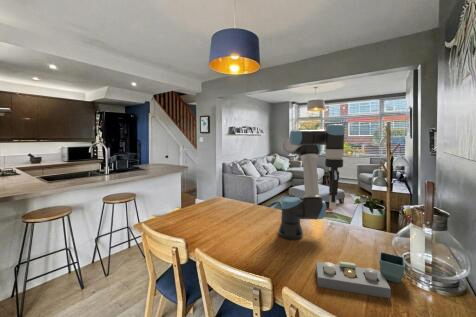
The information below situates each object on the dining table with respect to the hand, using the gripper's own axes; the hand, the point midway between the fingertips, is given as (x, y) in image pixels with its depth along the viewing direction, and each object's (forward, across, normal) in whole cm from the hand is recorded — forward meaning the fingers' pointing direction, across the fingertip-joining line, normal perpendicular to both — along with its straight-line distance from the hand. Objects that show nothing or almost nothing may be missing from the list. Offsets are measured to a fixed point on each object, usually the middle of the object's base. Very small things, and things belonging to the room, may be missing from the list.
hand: (332, 208), depth 101 cm
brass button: (+28, -11, -6) cm, 31 cm away
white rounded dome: (+27, -11, -14) cm, 32 cm away
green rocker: (+24, -7, -6) cm, 26 cm away
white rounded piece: (+27, -11, +2) cm, 29 cm away
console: (+28, -11, -6) cm, 31 cm away
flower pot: (+29, -3, -24) cm, 37 cm away
